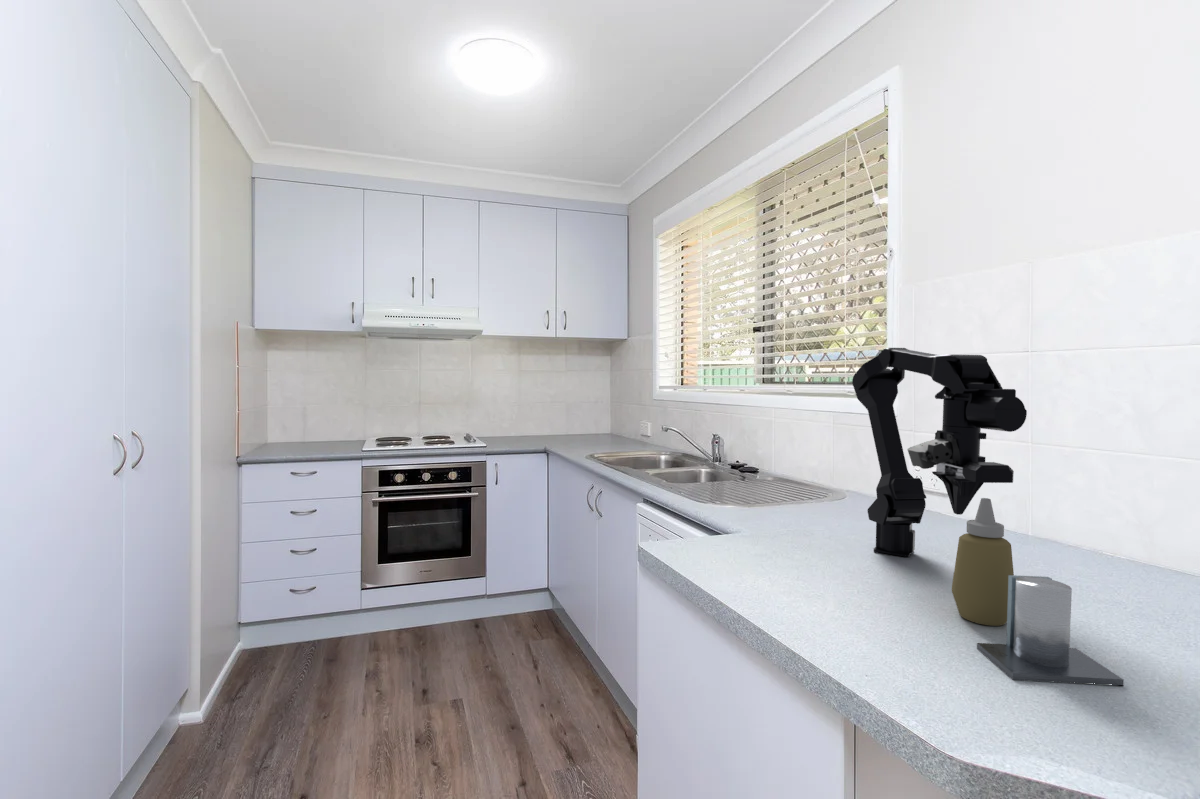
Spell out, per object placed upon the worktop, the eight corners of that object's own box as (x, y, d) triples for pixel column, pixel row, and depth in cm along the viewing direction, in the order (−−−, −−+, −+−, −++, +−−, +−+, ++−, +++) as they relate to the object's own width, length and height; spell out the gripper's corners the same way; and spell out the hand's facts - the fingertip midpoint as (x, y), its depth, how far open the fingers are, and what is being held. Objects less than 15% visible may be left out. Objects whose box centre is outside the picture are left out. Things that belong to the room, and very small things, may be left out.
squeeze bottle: (1004, 612, 89) (1008, 495, 89) (1024, 634, 82) (1028, 506, 81) (944, 605, 92) (948, 491, 91) (957, 625, 84) (961, 502, 84)
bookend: (977, 648, 77) (979, 573, 77) (1075, 654, 76) (1078, 578, 75) (1012, 679, 69) (1015, 596, 69) (1123, 686, 68) (1126, 601, 67)
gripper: (888, 421, 112) (885, 502, 112) (949, 431, 93) (945, 528, 94) (945, 421, 112) (942, 502, 113) (1017, 431, 93) (1013, 528, 94)
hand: (958, 514), depth 103 cm, fingers closed
